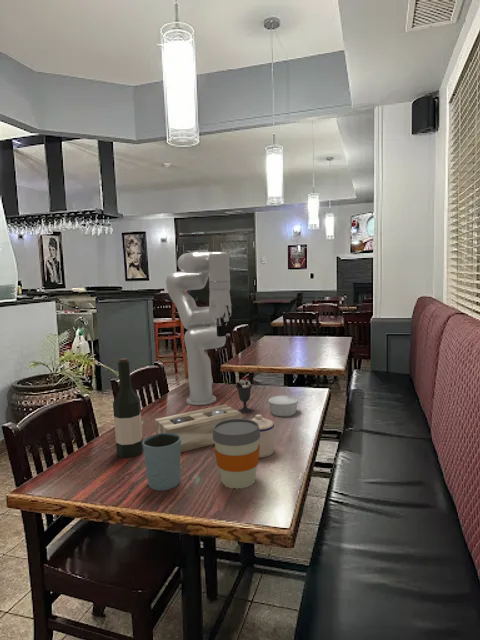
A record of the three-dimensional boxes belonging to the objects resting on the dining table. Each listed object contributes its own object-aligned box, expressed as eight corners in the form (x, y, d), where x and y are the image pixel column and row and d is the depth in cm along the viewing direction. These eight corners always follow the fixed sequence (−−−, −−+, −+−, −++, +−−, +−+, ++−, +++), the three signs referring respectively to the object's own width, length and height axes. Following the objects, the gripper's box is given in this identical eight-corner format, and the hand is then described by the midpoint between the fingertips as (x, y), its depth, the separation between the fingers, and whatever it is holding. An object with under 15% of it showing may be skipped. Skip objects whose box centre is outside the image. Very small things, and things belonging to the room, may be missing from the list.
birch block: (156, 442, 148) (155, 419, 147) (226, 426, 160) (225, 404, 159) (169, 455, 137) (167, 430, 136) (242, 436, 150) (241, 413, 149)
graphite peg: (172, 441, 146) (170, 418, 145) (183, 438, 148) (182, 416, 147) (176, 445, 143) (175, 422, 142) (188, 442, 144) (186, 419, 144)
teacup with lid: (275, 446, 141) (274, 410, 139) (274, 458, 132) (273, 420, 130) (237, 446, 142) (235, 410, 141) (234, 458, 133) (232, 420, 132)
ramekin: (304, 413, 170) (303, 400, 170) (281, 420, 164) (281, 406, 164) (285, 406, 180) (284, 393, 179) (263, 412, 174) (262, 399, 173)
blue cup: (149, 495, 114) (146, 449, 112) (141, 478, 123) (138, 436, 121) (188, 485, 118) (185, 442, 116) (177, 470, 127) (175, 429, 125)
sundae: (254, 407, 179) (252, 371, 178) (252, 413, 173) (251, 375, 171) (237, 407, 180) (236, 371, 178) (235, 413, 173) (234, 375, 172)
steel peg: (211, 431, 153) (209, 410, 152) (221, 429, 155) (220, 408, 154) (216, 435, 149) (215, 413, 148) (226, 432, 151) (225, 411, 150)
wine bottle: (148, 448, 143) (142, 356, 140) (134, 459, 135) (127, 362, 132) (126, 446, 146) (119, 355, 142) (111, 456, 138) (103, 361, 134)
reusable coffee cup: (268, 487, 115) (266, 431, 113) (221, 496, 112) (218, 438, 110) (253, 466, 127) (251, 415, 125) (210, 474, 124) (207, 421, 122)
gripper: (202, 286, 167) (204, 334, 169) (219, 287, 154) (221, 340, 156) (220, 284, 170) (222, 332, 173) (238, 286, 157) (240, 337, 160)
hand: (221, 336), depth 165 cm, fingers closed
